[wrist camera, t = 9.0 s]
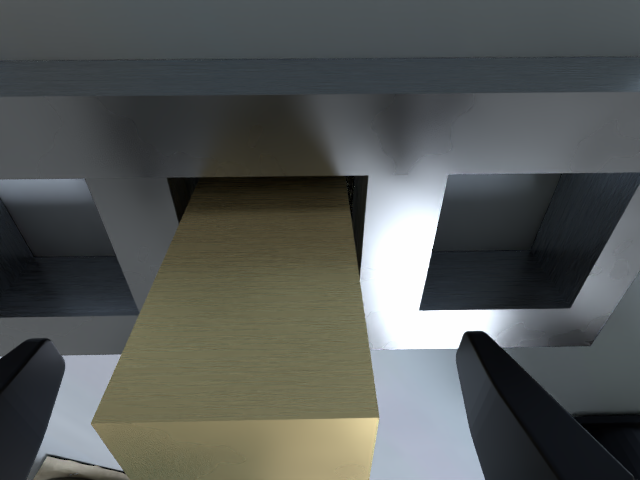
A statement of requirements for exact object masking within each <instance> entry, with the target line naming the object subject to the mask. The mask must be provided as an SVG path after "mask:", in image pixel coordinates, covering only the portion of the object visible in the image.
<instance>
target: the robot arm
mask: <svg viewBox="0 0 640 480" xmlns="http://www.w3.org/2000/svg"><path fill="white" fill-rule="evenodd" d="M456 364H457V369H458V374H459V379H460V384H461V389H462V394H463V399H464V404H465V409H466V414H467V419H468V424H469V428H470V432H471V436H472V439H473V443H474V446H475V449H476V452H477V455H478V458H479V462H480V465H481V468H482V471H483V474H484V477H485V480H640V415H629V416H581V417H575V418H573V417H572V416H571V415H570V414H569V413H568V412H567V411H566V410H565V409H564V408H563V407H562V406H561V405H560V404H559V403H558V402H557V401H556V400H555V399H554V398H553V397H552V396H551V395H550V394H548V393H547V392H546V391H545V390H544V389H543V388H542V387H541V386H540V385H539V384H538V383H537V382H536V381H535V380H534V379H533V378H532V377H531V376H530V375H529V374H528V373H527V372H526V371H525V370H524V369H523V368H522V367H521V366H520V365H519V364H518V363H517V362H516V361H515V360H514V359H513V358H512V357H510V356H509V355H508V354H507V353H506V352H505V351H504V350H503V349H502V348H501V347H500V346H499V345H498V344H497V343H496V342H495V341H494V340H493V339H492V338H491V337H490V336H489V335H488V334H487V333H485V332H484V331H466V332H464V333H463V336H462V338H461V341H460V344H459V347H458V350H457V354H456ZM64 371H65V361H64V359H63V357H62V356H61V354H60V353H59V351H58V350H57V348H56V346H55V345H54V343H53V342H52V341H51V340H50V339H48V338H32V339H27V340H25V341H24V342H22V343H21V344H19V345H18V346H17V347H15V348H14V349H13V350H11V351H10V352H9V353H7V354H6V355H5V356H3V357H2V358H1V359H0V480H26V479H27V476H28V474H29V472H30V469H31V467H32V465H33V462H34V460H35V458H36V455H37V453H38V451H39V448H40V446H41V443H42V441H43V438H44V435H45V432H46V429H47V426H48V423H49V420H50V417H51V413H52V410H53V407H54V404H55V401H56V397H57V394H58V391H59V388H60V385H61V381H62V378H63V375H64Z"/></svg>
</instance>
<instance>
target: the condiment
mask: <svg viewBox="0 0 640 480" xmlns="http://www.w3.org/2000/svg"><path fill="white" fill-rule="evenodd" d="M75 473H78V474H75ZM69 474H72V475H69ZM33 480H130V479H129V478H128V476H127V475H126V474H124V473H121V472H117V471H113V470H108V469H103V468H101V467H100V466H98V465H96V466H89V465H84V464H80V463H77V462H74V461H71V460H61V459H57V458H52V457H49V456H47V458H46V459H45V461H44V463H43V464H42V466H41V467H40V469H39V471H38V472H37V474H36V476H35V477H34V479H33Z"/></svg>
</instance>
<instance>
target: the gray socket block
mask: <svg viewBox="0 0 640 480" xmlns="http://www.w3.org/2000/svg"><path fill="white" fill-rule="evenodd" d="M537 173H563V174H562V176H561V178H560V181H559V183H558V186H557V188H556V190H555V193H554V195H553V198H552V200H551V202H550V205H549V207H548V210H547V212H546V215H545V217H544V219H543V222H542V224H541V227H540V229H539V231H538V234H537V236H536V239H535V241H534V243H533V246H532V248H531V250H529V251H457V252H432V247H433V243H434V238H435V234H436V229H437V225H438V220H439V216H440V211H441V206H442V202H443V197H444V193H445V188H446V184H447V179H448V175H449V174H537ZM262 176H354V192H353V209H352V227H353V234H354V242H355V249H356V256H357V263H358V270H359V277H360V284H361V291H362V298H363V305H364V312H365V320H366V327H367V334H368V341H369V348H370V350H391V349H447V348H458V347H459V344H460V341H461V338H462V336H463V333H464V332H466V331H484V332H485V333H487V334H488V335H489V336H490V337H491V338H492V339H493V340H494V341H495V342H496V343H497V344H498V345H499V346H500V347H501V348H503V347H559V346H591V344H592V343H593V341H594V340H595V338H596V337H597V335H598V334H599V332H600V331H601V329H602V328H603V326H604V325H605V323H606V322H607V320H608V318H609V317H610V315H611V314H612V312H613V311H614V309H615V308H616V306H617V305H618V303H619V302H620V300H621V299H622V297H623V296H624V294H625V293H626V291H627V290H628V288H629V286H630V285H631V283H632V282H633V280H634V279H635V277H636V276H637V274H638V273H639V271H640V57H542V58H384V59H226V60H67V61H0V179H79V178H85V180H86V183H87V185H88V188H89V190H90V193H91V195H92V198H93V200H94V202H95V205H96V207H97V210H98V212H99V215H100V217H101V220H102V222H103V225H104V227H105V229H106V232H107V234H108V237H109V239H110V242H111V244H112V247H113V249H114V251H115V254H116V256H100V257H34V256H33V255H32V253H31V251H30V249H29V248H28V246H27V244H26V242H25V241H24V239H23V237H22V235H21V234H20V232H19V230H18V228H17V227H16V225H15V223H14V221H13V220H12V218H11V216H10V214H9V213H8V211H7V209H6V207H5V206H4V204H3V202H2V200H1V199H0V356H5V355H6V354H7V353H9V352H10V351H11V350H13V349H14V348H15V347H17V346H18V345H19V344H21V343H22V342H24V341H25V340H27V339H32V338H48V339H50V340H51V341H52V342H53V343H54V345H55V346H56V348H57V350H58V351H59V353H60V354H61V355H110V354H122V352H123V350H124V348H125V345H126V343H127V341H128V339H129V336H130V334H131V332H132V329H133V327H134V325H135V323H136V320H137V318H138V316H139V314H140V311H141V309H142V307H143V305H144V302H145V300H146V298H147V296H148V293H149V291H150V289H151V287H152V284H153V282H154V280H155V278H156V275H157V273H158V271H159V269H160V266H161V264H162V262H163V260H164V257H165V255H166V253H167V250H168V248H169V246H170V244H171V241H172V239H173V237H174V235H175V232H176V230H177V228H178V226H179V223H180V221H181V219H182V217H183V214H184V212H185V210H186V208H187V205H188V203H189V201H190V199H191V196H192V194H193V192H194V190H195V187H196V185H197V183H198V181H199V178H200V177H262Z"/></svg>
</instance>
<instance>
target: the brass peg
mask: <svg viewBox="0 0 640 480" xmlns="http://www.w3.org/2000/svg"><path fill="white" fill-rule="evenodd" d="M378 423H379V412H378V405H377V398H376V391H375V383H374V376H373V369H372V362H371V355H370V348H369V341H368V334H367V327H366V320H365V312H364V305H363V298H362V291H361V284H360V277H359V270H358V263H357V256H356V249H355V242H354V234H353V227H352V220H351V213H350V206H349V199H348V192H347V185H346V178H345V176H262V177H200V178H199V181H198V183H197V185H196V187H195V190H194V192H193V194H192V196H191V199H190V201H189V203H188V205H187V208H186V210H185V212H184V214H183V217H182V219H181V221H180V223H179V226H178V228H177V230H176V232H175V235H174V237H173V239H172V241H171V244H170V246H169V248H168V250H167V253H166V255H165V257H164V260H163V262H162V264H161V266H160V269H159V271H158V273H157V275H156V278H155V280H154V282H153V284H152V287H151V289H150V291H149V293H148V296H147V298H146V300H145V302H144V305H143V307H142V309H141V311H140V314H139V316H138V318H137V320H136V323H135V325H134V327H133V329H132V332H131V334H130V336H129V339H128V341H127V343H126V345H125V348H124V350H123V352H122V354H121V357H120V359H119V361H118V363H117V366H116V368H115V370H114V372H113V375H112V377H111V379H110V381H109V384H108V386H107V388H106V390H105V393H104V395H103V397H102V399H101V402H100V404H99V406H98V408H97V411H96V413H95V415H94V417H93V420H92V422H91V425H92V426H93V428H94V429H95V430H96V432H97V433H98V435H99V436H100V438H101V439H102V441H103V442H104V443H105V445H106V446H107V448H108V449H109V451H110V452H111V453H112V455H113V456H114V458H115V459H116V461H117V462H118V463H119V465H120V466H121V468H122V469H123V471H124V472H125V474H126V475H127V476H128V478H129V479H130V480H369V477H370V471H371V465H372V459H373V453H374V447H375V441H376V435H377V429H378Z"/></svg>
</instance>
